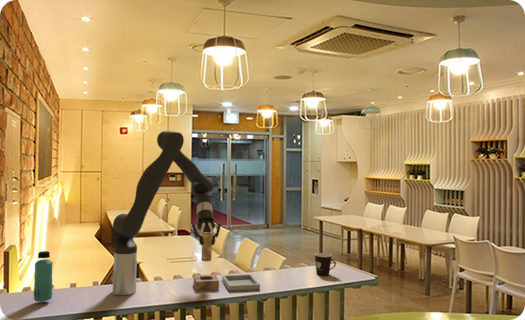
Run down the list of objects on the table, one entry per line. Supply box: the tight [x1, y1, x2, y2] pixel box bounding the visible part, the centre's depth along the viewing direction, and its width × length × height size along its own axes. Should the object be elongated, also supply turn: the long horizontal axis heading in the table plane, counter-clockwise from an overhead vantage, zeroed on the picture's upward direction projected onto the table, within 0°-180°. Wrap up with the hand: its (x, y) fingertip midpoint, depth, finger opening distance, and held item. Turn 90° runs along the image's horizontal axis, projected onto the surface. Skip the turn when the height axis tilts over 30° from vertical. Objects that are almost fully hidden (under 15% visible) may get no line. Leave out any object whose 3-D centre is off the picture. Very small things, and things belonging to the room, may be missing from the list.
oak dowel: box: [201, 232, 213, 262], centre depth 193 cm, size 4×4×12 cm
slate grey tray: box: [221, 273, 261, 293], centre depth 198 cm, size 14×17×2 cm
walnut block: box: [193, 274, 220, 292], centre depth 193 cm, size 10×10×4 cm
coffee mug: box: [314, 252, 337, 277], centre depth 219 cm, size 12×9×10 cm
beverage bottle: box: [33, 250, 54, 302], centre depth 167 cm, size 6×7×20 cm
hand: (207, 244), depth 192 cm, fingers closed on oak dowel, 4 cm apart
